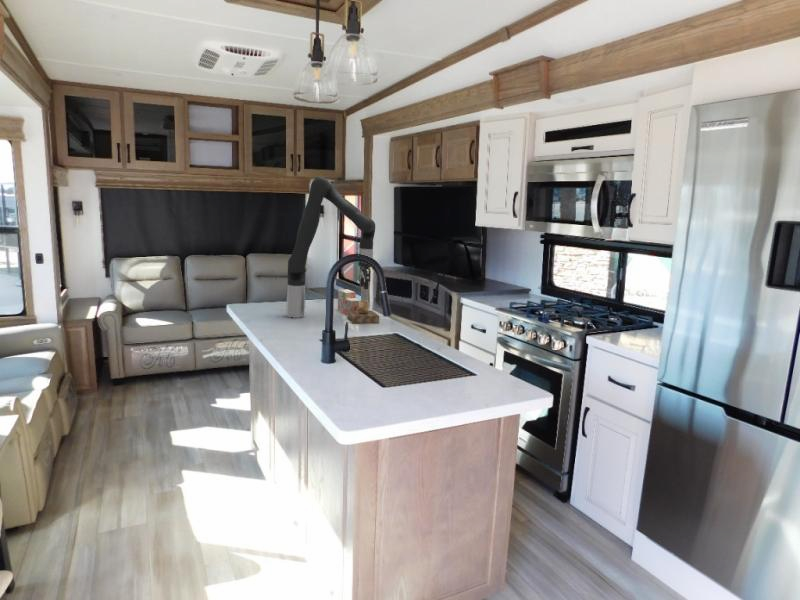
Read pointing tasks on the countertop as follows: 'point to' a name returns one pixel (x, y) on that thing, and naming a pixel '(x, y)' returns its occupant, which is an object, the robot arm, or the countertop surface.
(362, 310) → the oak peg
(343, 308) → the stack of blocks
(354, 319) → the walnut board
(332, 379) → the countertop surface
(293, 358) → the countertop surface
